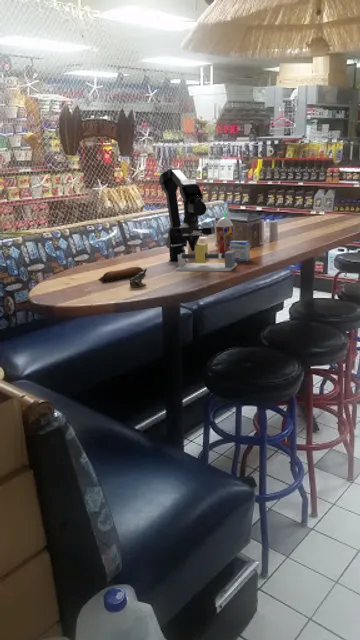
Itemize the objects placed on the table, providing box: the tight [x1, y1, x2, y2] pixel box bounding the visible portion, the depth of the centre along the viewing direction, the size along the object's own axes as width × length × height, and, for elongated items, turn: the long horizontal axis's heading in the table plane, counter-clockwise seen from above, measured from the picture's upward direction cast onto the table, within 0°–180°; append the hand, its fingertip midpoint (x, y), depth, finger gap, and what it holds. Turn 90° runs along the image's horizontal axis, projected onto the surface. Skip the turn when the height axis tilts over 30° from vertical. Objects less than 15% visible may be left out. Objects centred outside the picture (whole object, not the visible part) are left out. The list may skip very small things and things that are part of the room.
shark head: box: [129, 268, 148, 288], centre depth 196 cm, size 8×6×7 cm
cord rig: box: [174, 251, 238, 272], centre depth 220 cm, size 24×12×7 cm, turn 70°
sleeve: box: [194, 243, 209, 263], centre depth 220 cm, size 4×5×8 cm
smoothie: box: [215, 211, 234, 254], centre depth 246 cm, size 8×8×20 cm
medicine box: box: [230, 240, 251, 262], centre depth 230 cm, size 8×4×9 cm, turn 62°
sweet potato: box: [98, 266, 144, 284], centre depth 213 cm, size 18×7×7 cm, turn 120°
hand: (193, 251), depth 220 cm, fingers closed
